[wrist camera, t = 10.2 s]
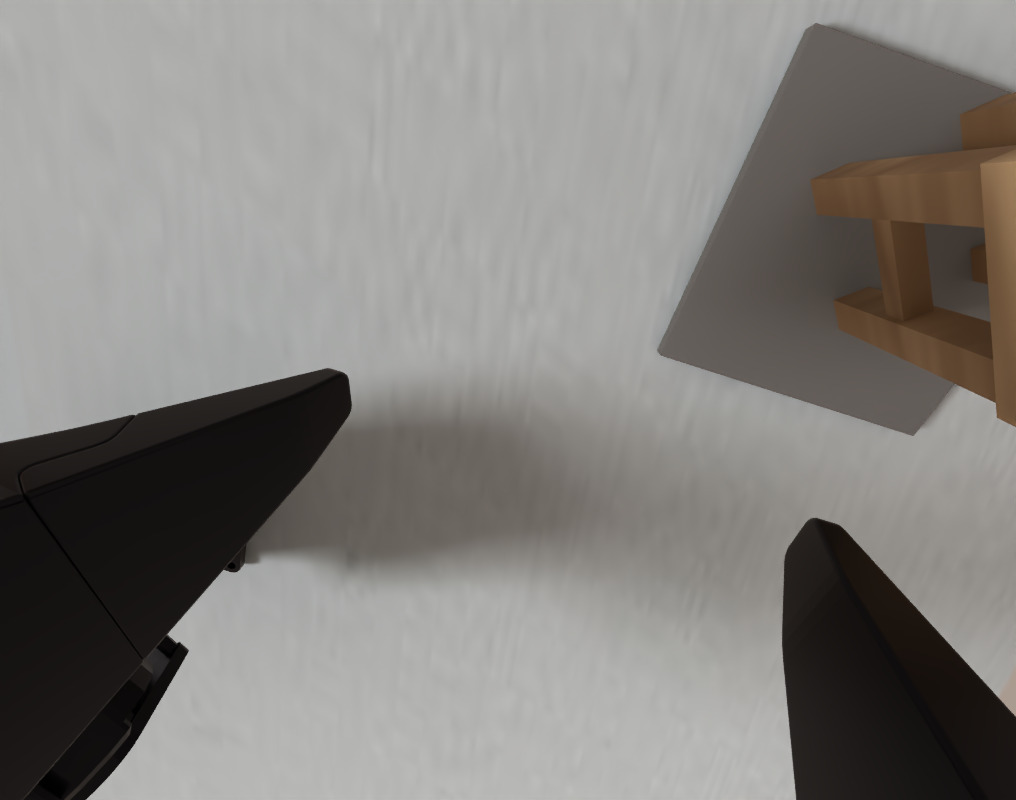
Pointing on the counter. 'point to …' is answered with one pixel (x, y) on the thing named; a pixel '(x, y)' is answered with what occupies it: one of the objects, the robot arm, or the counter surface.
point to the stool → (904, 259)
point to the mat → (827, 236)
